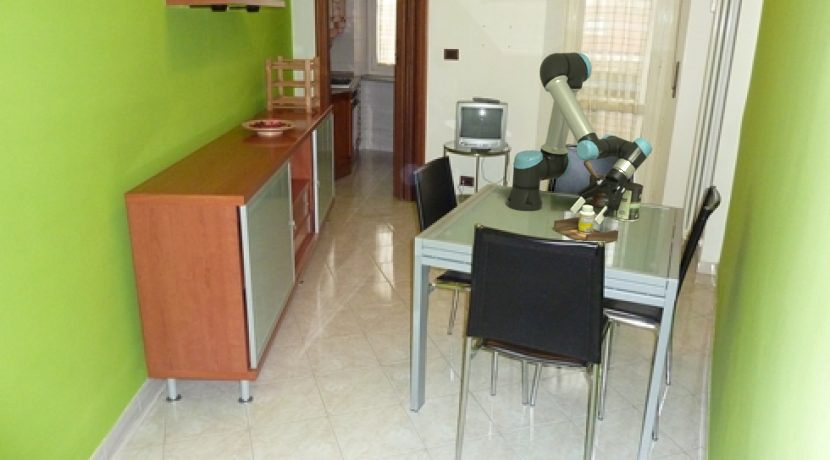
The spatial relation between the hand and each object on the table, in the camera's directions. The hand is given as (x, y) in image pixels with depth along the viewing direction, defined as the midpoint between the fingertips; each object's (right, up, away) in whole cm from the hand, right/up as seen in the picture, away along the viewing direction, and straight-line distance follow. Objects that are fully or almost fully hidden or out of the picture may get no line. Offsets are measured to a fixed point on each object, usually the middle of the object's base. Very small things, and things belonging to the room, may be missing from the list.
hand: (584, 216), depth 247 cm
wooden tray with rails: (+1, -7, +3) cm, 8 cm away
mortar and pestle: (+15, +6, +43) cm, 46 cm away
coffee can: (+24, 0, +26) cm, 35 cm away
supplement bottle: (+1, -6, +3) cm, 7 cm away
